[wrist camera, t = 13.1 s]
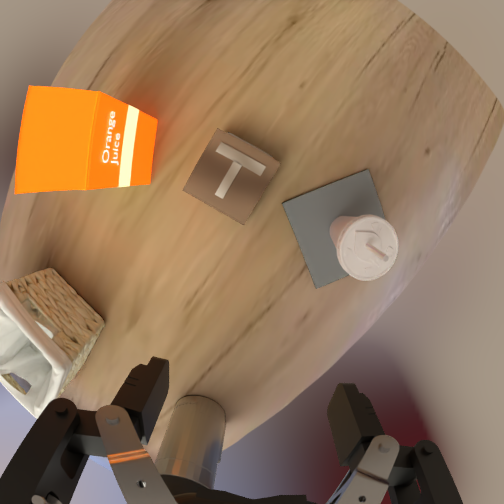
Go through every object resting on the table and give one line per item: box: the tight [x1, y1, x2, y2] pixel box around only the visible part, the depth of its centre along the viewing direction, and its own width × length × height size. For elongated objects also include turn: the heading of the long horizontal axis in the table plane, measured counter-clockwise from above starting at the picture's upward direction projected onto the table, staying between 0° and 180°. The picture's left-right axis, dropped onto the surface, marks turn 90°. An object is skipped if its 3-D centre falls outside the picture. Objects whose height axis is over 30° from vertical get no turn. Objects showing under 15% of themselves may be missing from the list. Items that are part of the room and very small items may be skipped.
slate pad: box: [282, 169, 385, 289], centre depth 34 cm, size 12×12×1 cm
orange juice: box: [15, 86, 158, 194], centre depth 23 cm, size 8×9×20 cm
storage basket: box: [0, 268, 105, 419], centre depth 34 cm, size 24×16×15 cm
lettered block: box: [183, 128, 281, 225], centre depth 31 cm, size 8×8×4 cm
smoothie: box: [330, 214, 399, 281], centre depth 27 cm, size 6×6×14 cm
